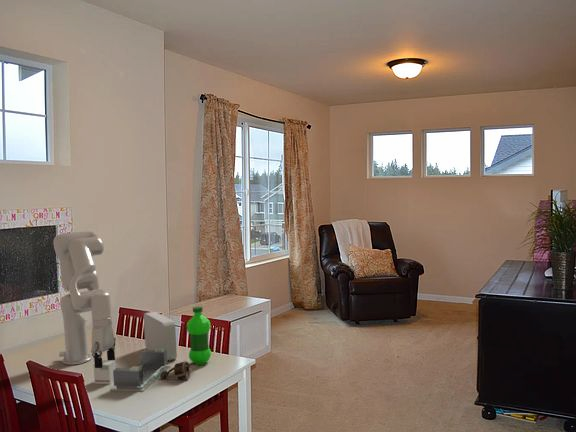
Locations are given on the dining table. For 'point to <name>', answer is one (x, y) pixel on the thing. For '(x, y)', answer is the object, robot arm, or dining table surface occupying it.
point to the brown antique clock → (178, 371)
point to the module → (104, 372)
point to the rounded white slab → (160, 333)
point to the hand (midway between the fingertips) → (105, 363)
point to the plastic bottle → (199, 337)
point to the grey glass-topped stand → (141, 371)
